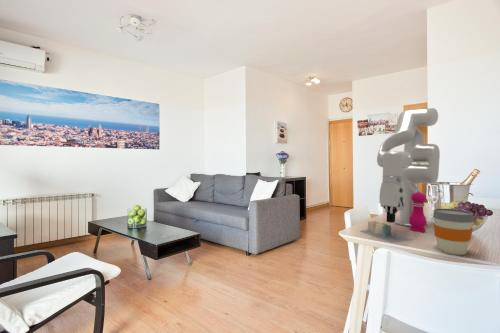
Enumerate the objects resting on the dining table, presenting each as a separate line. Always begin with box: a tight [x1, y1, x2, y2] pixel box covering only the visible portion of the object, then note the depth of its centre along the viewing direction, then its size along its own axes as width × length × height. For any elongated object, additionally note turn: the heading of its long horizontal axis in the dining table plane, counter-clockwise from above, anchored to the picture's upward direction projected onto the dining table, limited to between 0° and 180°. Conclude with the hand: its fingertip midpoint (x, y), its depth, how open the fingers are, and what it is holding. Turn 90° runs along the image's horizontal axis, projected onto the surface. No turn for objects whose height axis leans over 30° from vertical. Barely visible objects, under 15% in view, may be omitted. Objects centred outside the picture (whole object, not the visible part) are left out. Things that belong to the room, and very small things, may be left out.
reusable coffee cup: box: [432, 208, 475, 256], centre depth 108 cm, size 13×13×15 cm
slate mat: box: [359, 229, 414, 244], centre depth 127 cm, size 12×19×1 cm, turn 21°
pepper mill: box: [409, 189, 427, 234], centre depth 136 cm, size 7×7×20 cm
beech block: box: [367, 220, 392, 236], centre depth 130 cm, size 4×4×9 cm
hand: (390, 221), depth 124 cm, fingers closed
